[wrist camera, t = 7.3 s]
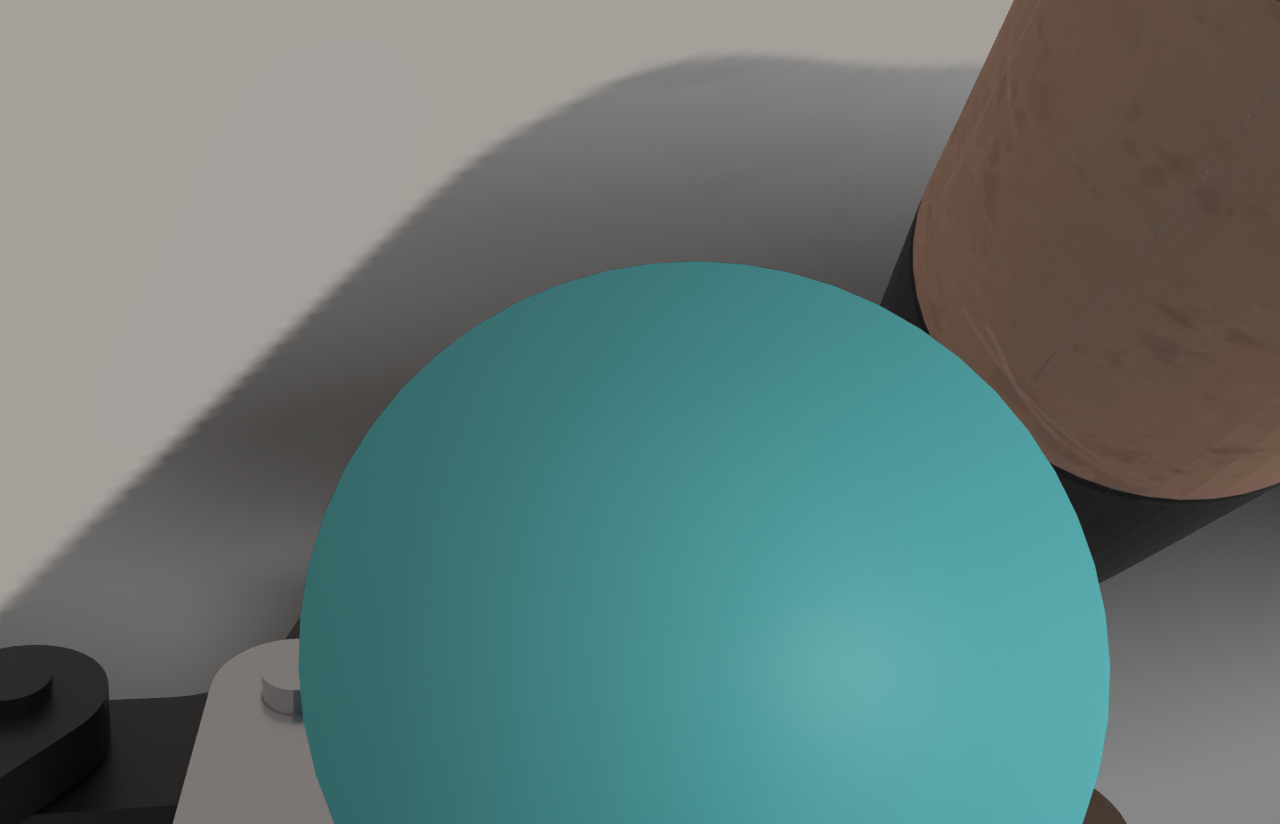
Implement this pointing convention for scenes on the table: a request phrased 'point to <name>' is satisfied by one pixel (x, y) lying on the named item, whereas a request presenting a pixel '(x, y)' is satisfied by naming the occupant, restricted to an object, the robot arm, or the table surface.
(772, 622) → the dowel
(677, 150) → the table surface
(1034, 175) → the travel mug
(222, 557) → the table surface
